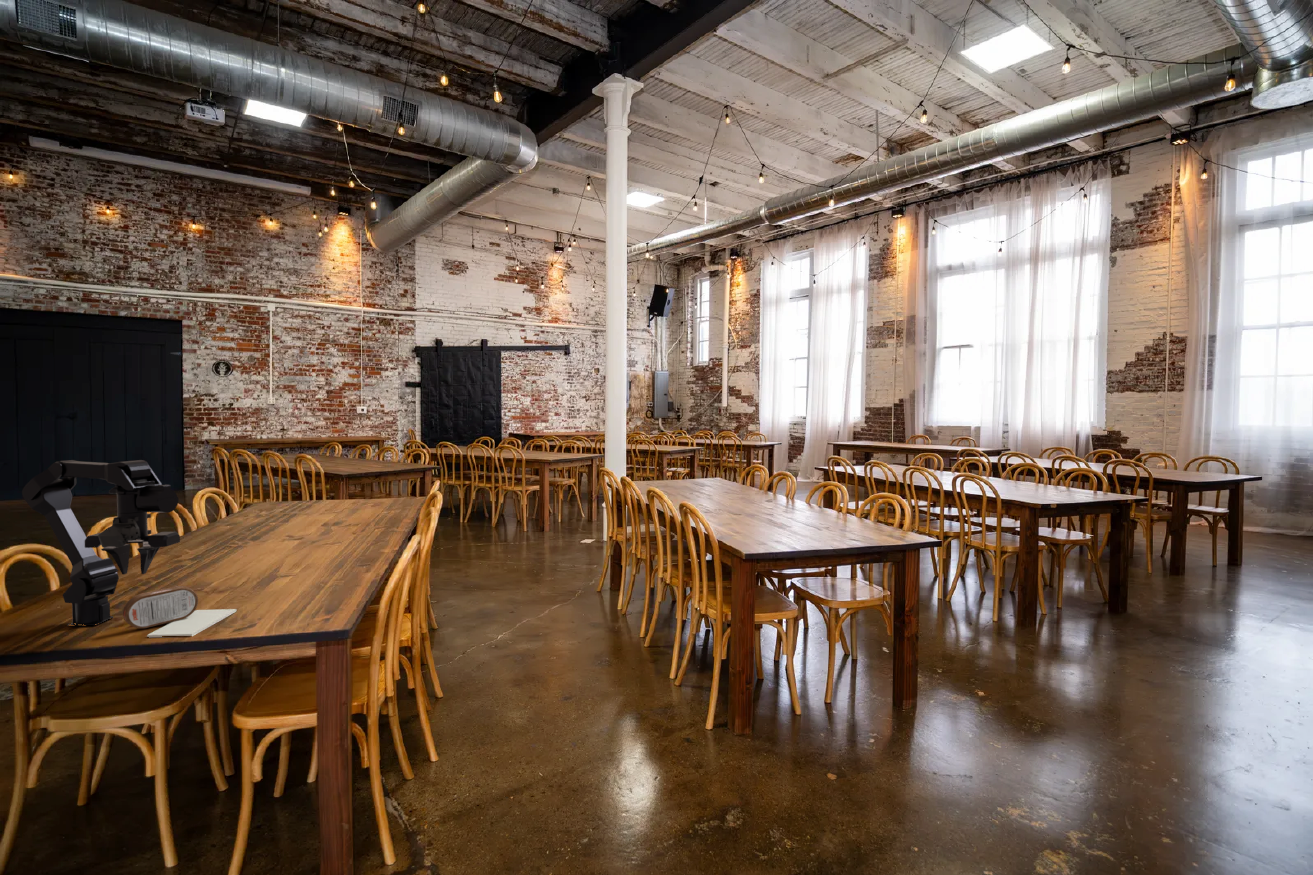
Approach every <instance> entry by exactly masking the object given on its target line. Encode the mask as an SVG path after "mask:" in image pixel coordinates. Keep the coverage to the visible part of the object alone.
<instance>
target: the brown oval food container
mask: <svg viewBox="0 0 1313 875" xmlns="http://www.w3.org/2000/svg"><path fill="white" fill-rule="evenodd" d="M198 605H199V597H198V595H197V593H196V592H195V591H194V590H193V589H192V588H191V587H189V586H185V585H177V586H171V587H166V588H162V589H157V590H152V591H148V592H143V593H139V594H136V595H134V596H133V597H130V599H128V601H126V603H125V605H124V607H123V610H122V617H123V620H124V621H125V623H127V624H128V625H129V626H131V627H134V628H137V629H147V628H152V627H155V626H160V625H164V624H169V623H172V622H174V621H177V620H181V619H184V618H186V617H188V616H190V615H191V614H192V613H193V612H194V611H195V610H197V607H198Z"/></svg>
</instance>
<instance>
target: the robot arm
mask: <svg viewBox="0 0 1313 875" xmlns="http://www.w3.org/2000/svg"><path fill="white" fill-rule="evenodd" d="M77 478H78V479H79V478H81V479H97V480H104V481H106V482H107V483H109V484H113V485H115V486H114V487H112V488H111V489H109V490H108V494H111V495H112V494H113V495H114V494H115V495H116V506H117V507H116V510H117V511H116V512H117V513H116V514H117V516H115V517H113V519H112V525H111V526H108V527H107V528H105V529H104V530H103V531H101V532H98V533H93V534H90V535H87V536H86V533H85V532H84V530H83V528H82V526H81V525H80V522H79V521H78V520H77V518H76V516H75V514H74V512H73V510H72V508H71V504H72V500H73V494H72V492H71V491H72V490H73V489H74V487H75V486H76V485H77V483H78V482H77ZM171 487H172V486H171V484H162V482H161V481H160V479H159V478H158V476H157V475H156V473H155V472H154V471H153V469H152V467H151V466H150V465H149V463H148V462H147V461H146V460H144V459H143V460H142V459H139V460H128V461H127V460H126V461H118V462H116V461H115V462H111V463H108V462H94V461H79V460H75V459H71V460H59V461H55V462H53V463H52V464H50V466H49V467H48V468H46V469H45V470H44V471H42V472H40V473H38V474H37V475H35V476H33V477H32V478H31V479H30V480H29V482H27V483H26V484H25V486H24V487H23V488H22V491H21V495H22V498H23V499H24V501H25V502H26V503H27V505H28V506H29V507H30V508H31V509H32V510H34V511H35V512H37V513H39V514H40V515H42V516H44V517H45V519H46V521H47V523H48V525H49V526H50V528H51V529H52V532H53V534H54V535H55V537H56V539H57V540H58V542H59V544H60V545H61V547H62V549H63V551H64V553H65V555H66V556H67V558H68V560H69V562H70V564H71V572H70V576H69V579H70V581H71V584H70V586H69V587H68V588H67V589H66V590H65V592H64V593H63V594H62V598H63V601H64V603H66V604H71V609H72V610H71V612H72V613H71V614H72V615H71V616H72V617H71V618H72V622H70V623H71V625H75V624H74V623H76V625H78V624H82V625H83V624H84V625H95V624H98V623H101V624H103V623H105V622H107V621H109V620H108V619H110V618H112V619H114V616H113V615H111V609H110V608H111V604H110V601H109V596H110V595H111V596H112V595H114V594H115V592H116V588H117V585H118V583H119V582H118V581H119V579H120V578H119V577H120V576H119V573H118V572H119V571H120V573H121V575H127V574H128V572H129V562H130V552H131V551H130V550H131V544H142V547H138V548H136V550H137V552H138V553H139V554H140V558H139V559H140V574H141V575H146V573H147V572H148V569H149V568H150V566H151V564H152V562H153V560H154V558H155V556H156V555H157V553H158V552H159V550H160V548H164V547H165V548H166V547H169V546H173V545H176V544H178V543H181V537H180V536H181V535H180V534H179V533H178V532H177V531H161V532H157V533H153V534H152V529H149V528H148V519H150V518H152V515H151V513H161V514H162V513H165V514H169V513H172V512H173V511H175V510H176V509H177V506H178V505H179V497H178V495H177V493H176V492H175V491H174V490H173V489H171ZM100 546H101V547H102V548H100V550H101V551H102V552H107V553H108V554H110V556H112V558H113V559H114V560H115V563H116V565H117V567H118V568H117V567H116V566H115V564H114V562H113V560H112V558H110V557H107V558H102V557H100V556H98V555H97V554H96V552H95V549H94V548H99V547H100ZM106 620H107V621H106ZM110 620H111V619H110ZM104 621H105V622H104ZM102 622H103V623H102ZM70 623H68V624H67V626H68V625H69V624H70ZM98 625H99V624H98Z"/></svg>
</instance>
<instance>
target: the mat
mask: <svg viewBox="0 0 1313 875" xmlns="http://www.w3.org/2000/svg"><path fill="white" fill-rule="evenodd" d="M236 612H237V608H234V609H233V608H232V609H231V608H229V609H224V608H223V609H222V608H221V609H196V610H195V611H194V612H193V613H192V614H191V615H190V616H188V617H186V618H184V619H181V620H177V621H173V622H169V623H167V624H166V625H164V626H162V627H160V628H158V629H156V630H154V631H153V632H150V633H148V634H147V635H146V638H147V637H149V638H163V637H162V636H192V637H194V636H195V635H197V634H199V633H201V632H202V631H204V630H206V629H208V628H210V627H212V626H213V625H214V624H215V625H216V624H217V623H218V622H220V621H222V620H224V619H226V618H227V617H229V616H230V615H233V614H234V613H236Z"/></svg>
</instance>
